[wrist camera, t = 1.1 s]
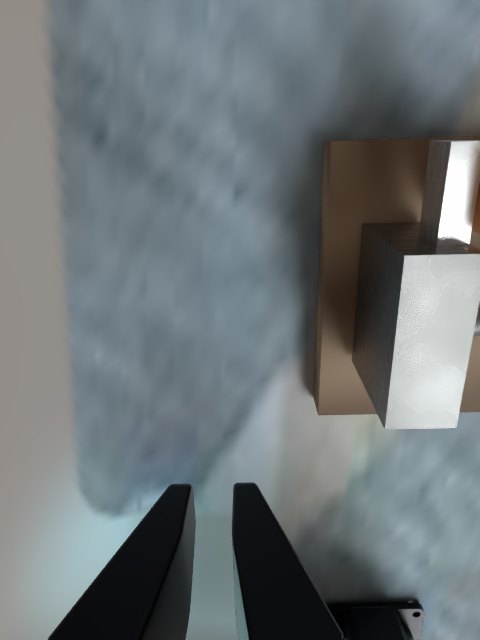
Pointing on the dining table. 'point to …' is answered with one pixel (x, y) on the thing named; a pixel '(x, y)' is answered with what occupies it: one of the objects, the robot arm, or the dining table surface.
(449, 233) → the grey block with rod
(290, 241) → the dining table surface
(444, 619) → the dining table surface
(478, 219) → the peak pointer
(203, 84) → the dining table surface
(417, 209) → the gauge base
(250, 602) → the robot arm
